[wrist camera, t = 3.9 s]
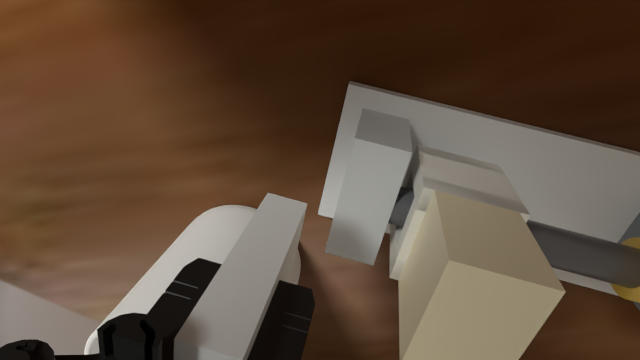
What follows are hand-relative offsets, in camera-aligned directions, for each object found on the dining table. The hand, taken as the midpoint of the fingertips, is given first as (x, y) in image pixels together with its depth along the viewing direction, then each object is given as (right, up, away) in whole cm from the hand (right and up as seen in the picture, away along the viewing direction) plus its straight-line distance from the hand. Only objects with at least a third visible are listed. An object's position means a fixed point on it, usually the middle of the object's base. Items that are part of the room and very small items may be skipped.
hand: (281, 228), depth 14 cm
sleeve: (+8, +1, +5) cm, 9 cm away
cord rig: (+12, +1, +7) cm, 14 cm away
